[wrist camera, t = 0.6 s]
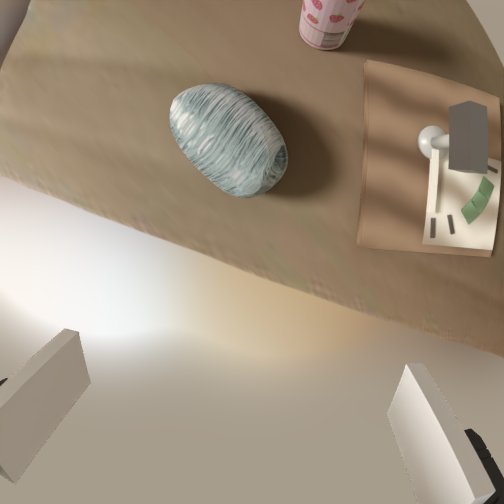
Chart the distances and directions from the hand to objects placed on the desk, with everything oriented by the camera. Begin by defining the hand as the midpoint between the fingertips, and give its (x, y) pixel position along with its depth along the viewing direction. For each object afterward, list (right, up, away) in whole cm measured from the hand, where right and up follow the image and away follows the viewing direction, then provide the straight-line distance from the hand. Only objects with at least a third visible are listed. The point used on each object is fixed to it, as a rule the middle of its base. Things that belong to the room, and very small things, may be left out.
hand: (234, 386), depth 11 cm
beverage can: (+9, +31, +19) cm, 38 cm away
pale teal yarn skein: (-1, +18, +23) cm, 29 cm away
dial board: (+23, +16, +22) cm, 36 cm away
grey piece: (+21, +15, +20) cm, 33 cm away
